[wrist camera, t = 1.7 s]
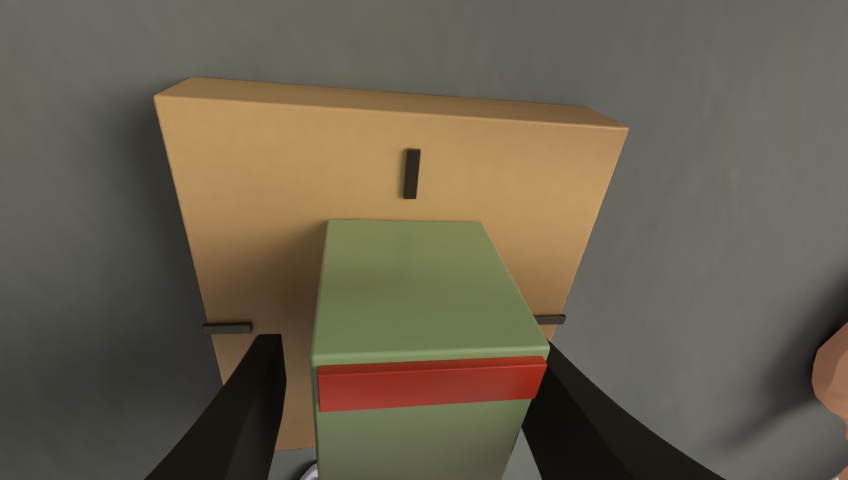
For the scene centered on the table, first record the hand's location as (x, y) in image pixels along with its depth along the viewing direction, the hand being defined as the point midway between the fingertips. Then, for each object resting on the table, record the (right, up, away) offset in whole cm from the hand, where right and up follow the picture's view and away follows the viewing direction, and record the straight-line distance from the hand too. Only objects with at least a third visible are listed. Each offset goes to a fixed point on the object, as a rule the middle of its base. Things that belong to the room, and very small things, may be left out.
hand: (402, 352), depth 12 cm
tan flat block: (-1, +2, +3) cm, 4 cm away
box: (0, +1, +1) cm, 1 cm away
